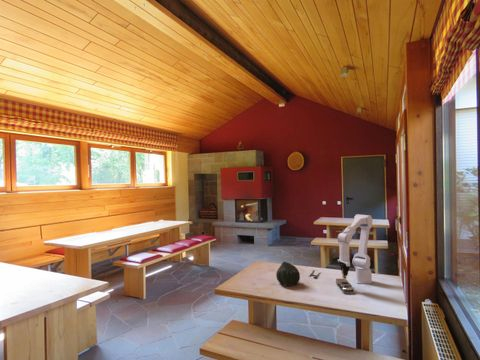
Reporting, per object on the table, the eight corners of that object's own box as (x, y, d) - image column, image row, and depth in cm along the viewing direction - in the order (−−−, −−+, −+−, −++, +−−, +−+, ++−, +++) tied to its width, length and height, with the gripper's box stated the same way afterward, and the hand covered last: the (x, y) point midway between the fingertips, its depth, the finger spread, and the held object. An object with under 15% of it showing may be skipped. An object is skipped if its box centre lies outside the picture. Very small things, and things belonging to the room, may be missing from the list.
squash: (305, 279, 187) (297, 257, 196) (283, 282, 183) (276, 260, 192) (298, 288, 197) (290, 267, 206) (277, 292, 193) (270, 270, 202)
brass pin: (346, 277, 185) (345, 267, 185) (347, 278, 183) (346, 268, 183) (342, 277, 186) (341, 267, 186) (342, 278, 183) (342, 268, 183)
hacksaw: (316, 279, 203) (316, 277, 203) (301, 277, 208) (301, 275, 208) (323, 270, 224) (323, 268, 225) (310, 268, 229) (310, 266, 229)
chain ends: (345, 284, 193) (345, 278, 193) (354, 294, 176) (354, 288, 176) (335, 284, 193) (335, 278, 193) (343, 294, 176) (343, 288, 176)
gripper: (334, 250, 192) (334, 271, 192) (341, 255, 177) (341, 278, 177) (345, 250, 191) (345, 271, 191) (353, 255, 177) (353, 278, 177)
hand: (344, 274), depth 184 cm, fingers closed on brass pin, 2 cm apart
